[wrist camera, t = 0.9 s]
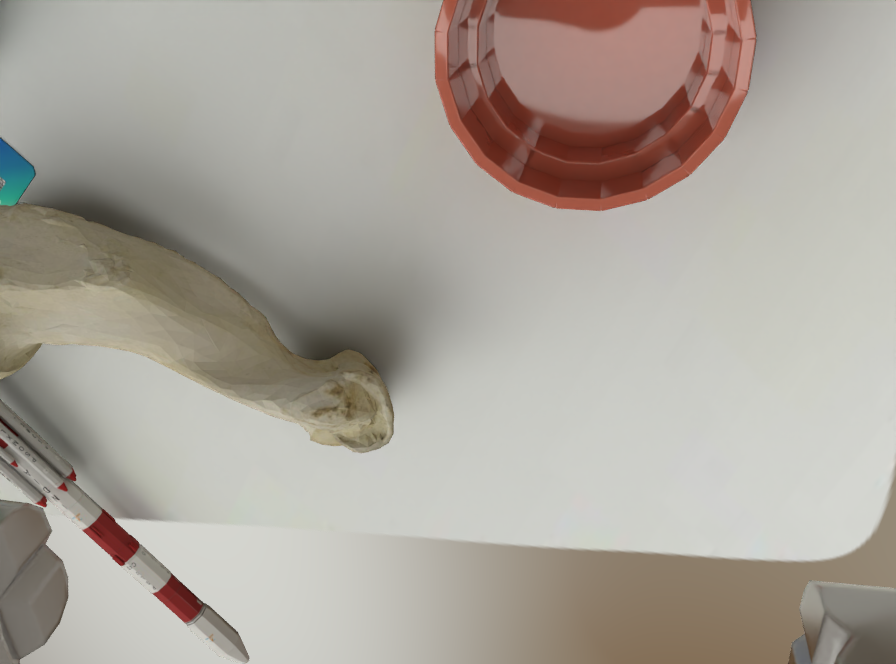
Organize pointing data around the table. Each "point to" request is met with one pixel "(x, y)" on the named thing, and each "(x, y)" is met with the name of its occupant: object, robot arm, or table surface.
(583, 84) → the bowl
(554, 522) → the table surface
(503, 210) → the table surface
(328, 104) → the table surface
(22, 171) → the credit card
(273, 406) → the bone
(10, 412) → the rocket
